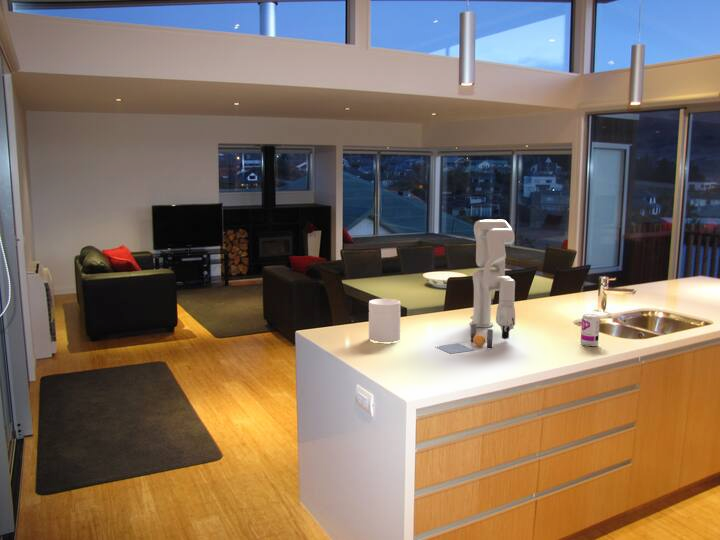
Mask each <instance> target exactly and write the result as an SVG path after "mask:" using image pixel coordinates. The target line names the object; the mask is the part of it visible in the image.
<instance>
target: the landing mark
mask: <svg viewBox="0 0 720 540" xmlns="http://www.w3.org/2000/svg"><path fill="white" fill-rule="evenodd" d="M436 346H437V349H438V348H439V349H438V350H441V351H443V352H446V353H448V354H450V355H452V354H458V353H459V354H460V353H465V352H466V351H467V352H474V351H475V349H474V348H471V347H469V346H466V345H464V344H461V343H458V342H457V343H451V344H450V343H449V344H448V343H447V344H441V345H436ZM438 346H439V347H438ZM473 350H474V351H473Z"/></svg>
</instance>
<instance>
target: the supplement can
mask: <svg viewBox="0 0 720 540" xmlns="http://www.w3.org/2000/svg"><path fill="white" fill-rule="evenodd" d="M600 319H601V318H600V317H599V315H597V314H592V313H585V314H583V315H582V318H581V328H580V329H581V330H580V334H581V335H580V344H581V345H582V346H583V345H585V346H584V347H587V346H596V347H597V346H598V345H599V338H600V335H599V334H600V322H601V321H600Z"/></svg>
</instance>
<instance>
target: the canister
mask: <svg viewBox="0 0 720 540" xmlns="http://www.w3.org/2000/svg"><path fill="white" fill-rule="evenodd" d="M401 303H402V302H401V301H400V300H398V299H393V298H375V299H371V300H369V301H368V340H369V339H371V340H374V341H378V342H394V341H398V340H400V341H401Z"/></svg>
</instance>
